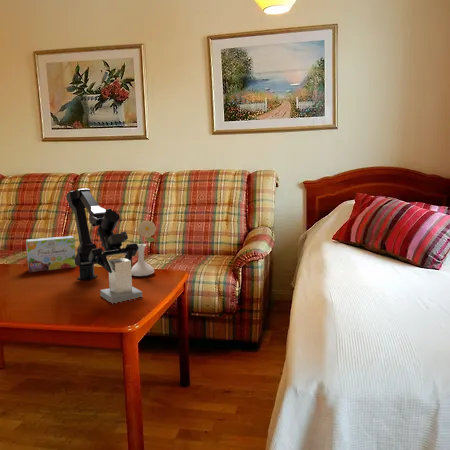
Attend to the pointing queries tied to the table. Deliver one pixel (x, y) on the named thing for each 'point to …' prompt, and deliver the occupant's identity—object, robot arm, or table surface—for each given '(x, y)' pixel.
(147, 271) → the flower in vase
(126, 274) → the cream block
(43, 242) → the snack box
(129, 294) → the grey block
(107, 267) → the robot arm
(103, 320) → the table surface
